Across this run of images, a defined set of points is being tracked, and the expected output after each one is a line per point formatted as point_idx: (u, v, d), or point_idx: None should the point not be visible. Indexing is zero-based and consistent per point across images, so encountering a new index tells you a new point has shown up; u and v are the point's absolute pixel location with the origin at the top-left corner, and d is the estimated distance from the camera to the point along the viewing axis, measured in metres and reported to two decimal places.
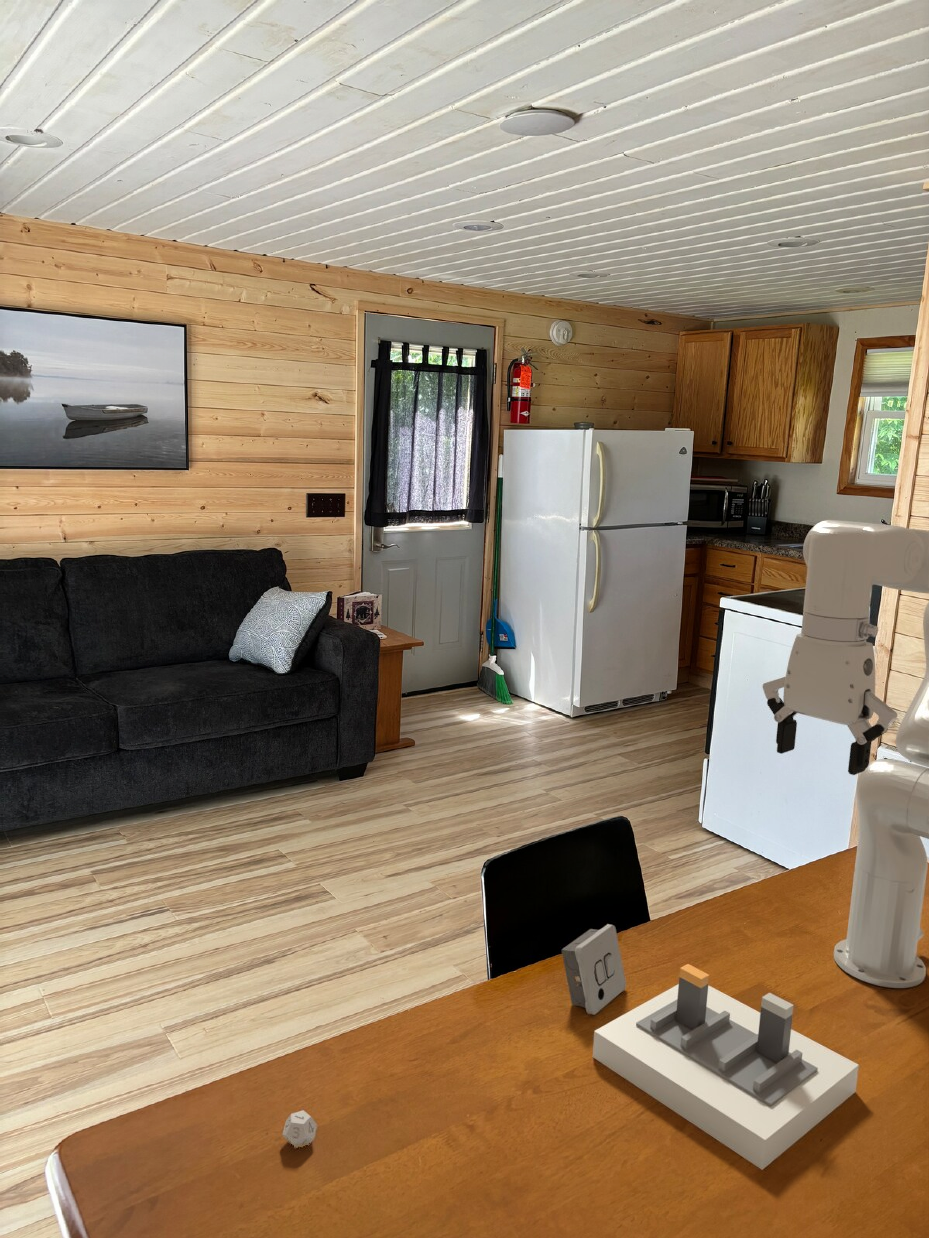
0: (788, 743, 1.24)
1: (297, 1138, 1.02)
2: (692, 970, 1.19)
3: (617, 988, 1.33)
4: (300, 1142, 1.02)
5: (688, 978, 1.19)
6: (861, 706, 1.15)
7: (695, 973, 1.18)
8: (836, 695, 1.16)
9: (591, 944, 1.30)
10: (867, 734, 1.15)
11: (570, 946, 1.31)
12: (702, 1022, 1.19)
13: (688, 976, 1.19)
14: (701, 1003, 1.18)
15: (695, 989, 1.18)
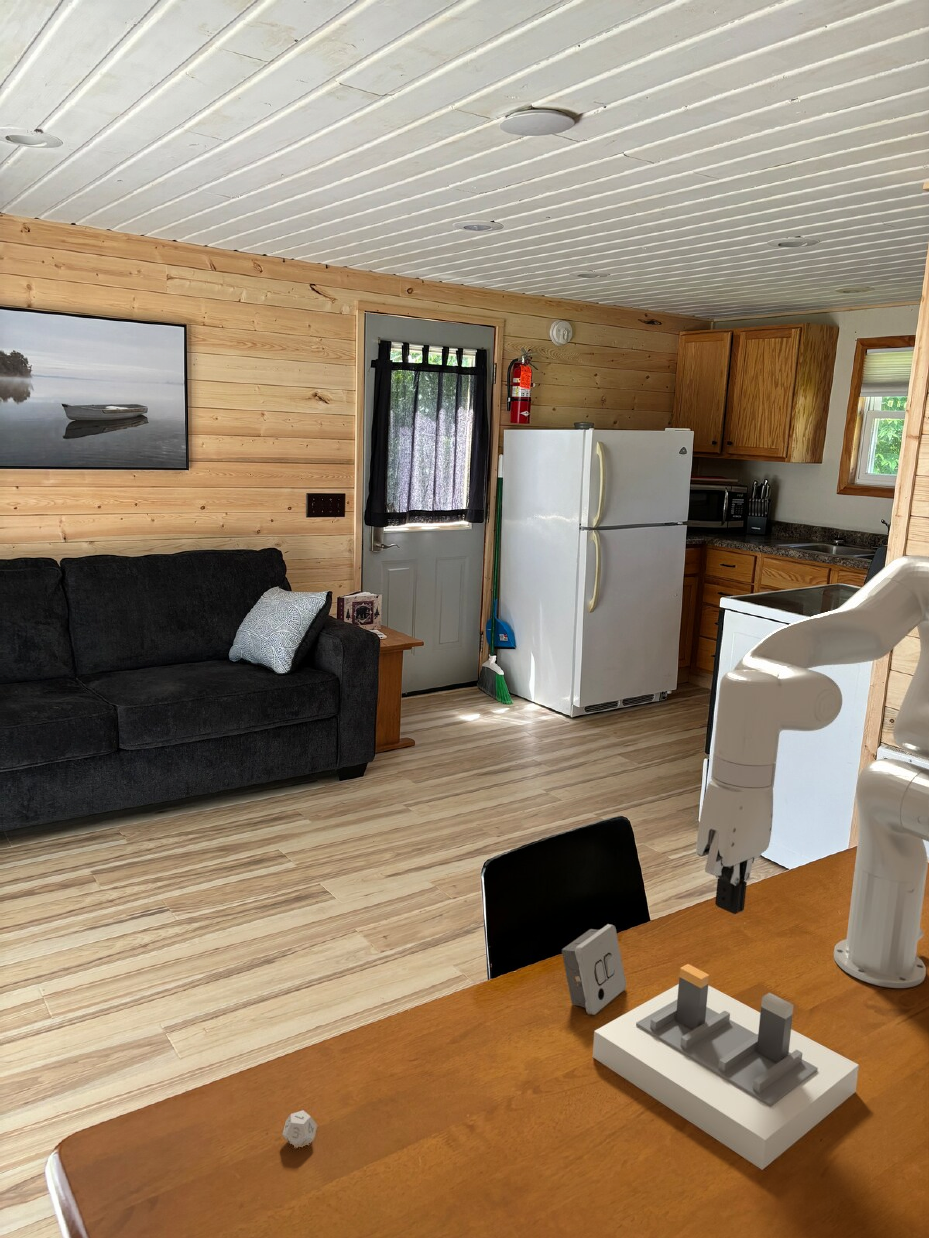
0: None
1: (297, 1138, 1.02)
2: (692, 970, 1.19)
3: (617, 988, 1.33)
4: (299, 1142, 1.02)
5: (688, 978, 1.19)
6: None
7: (695, 973, 1.18)
8: (764, 830, 1.20)
9: (591, 944, 1.30)
10: None
11: (570, 946, 1.31)
12: (702, 1022, 1.19)
13: (688, 976, 1.19)
14: (701, 1003, 1.18)
15: (695, 989, 1.18)
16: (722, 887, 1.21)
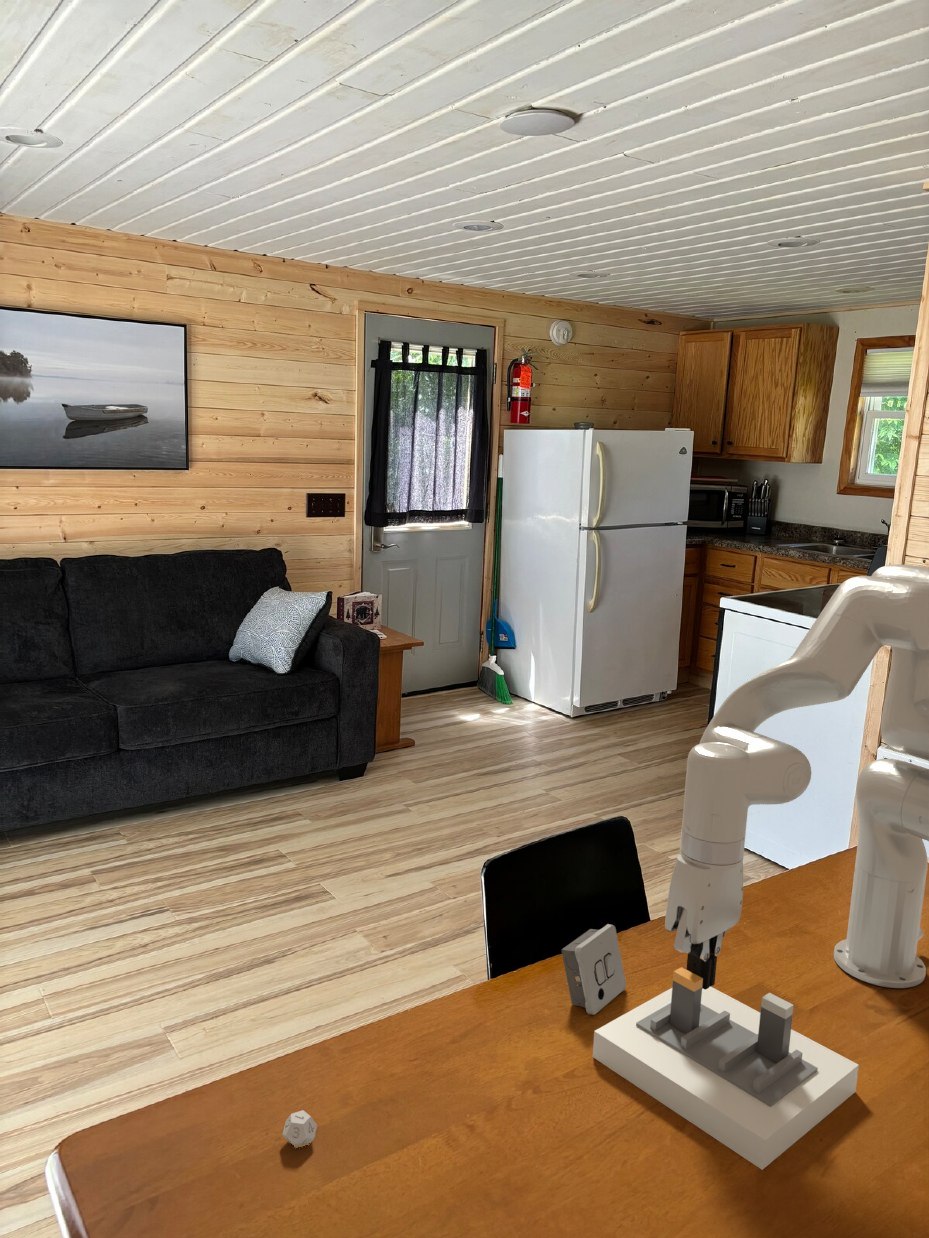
0: None
1: (297, 1138, 1.02)
2: (686, 974, 1.18)
3: (617, 988, 1.33)
4: (299, 1142, 1.02)
5: (682, 982, 1.18)
6: None
7: (689, 977, 1.18)
8: (734, 904, 1.18)
9: (591, 944, 1.30)
10: None
11: (570, 946, 1.31)
12: (696, 1026, 1.18)
13: (681, 980, 1.18)
14: (695, 1007, 1.17)
15: (689, 992, 1.17)
16: (692, 962, 1.19)
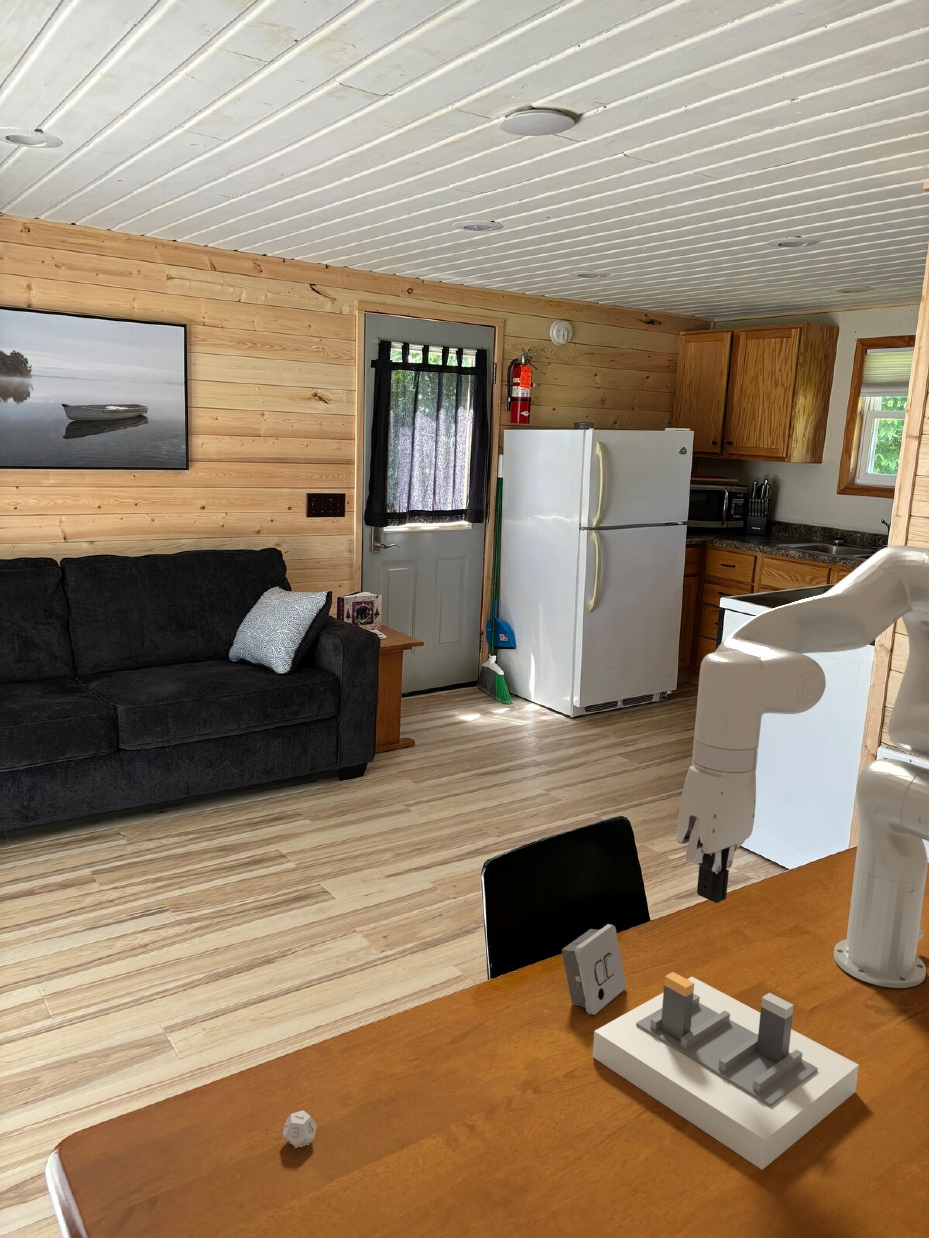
0: None
1: (297, 1138, 1.02)
2: (677, 979, 1.17)
3: (617, 988, 1.33)
4: (299, 1142, 1.02)
5: (673, 986, 1.17)
6: None
7: (680, 981, 1.16)
8: (746, 816, 1.17)
9: (591, 944, 1.30)
10: None
11: (570, 946, 1.31)
12: (687, 1031, 1.17)
13: (673, 985, 1.17)
14: (686, 1012, 1.16)
15: (680, 997, 1.16)
16: (704, 875, 1.17)
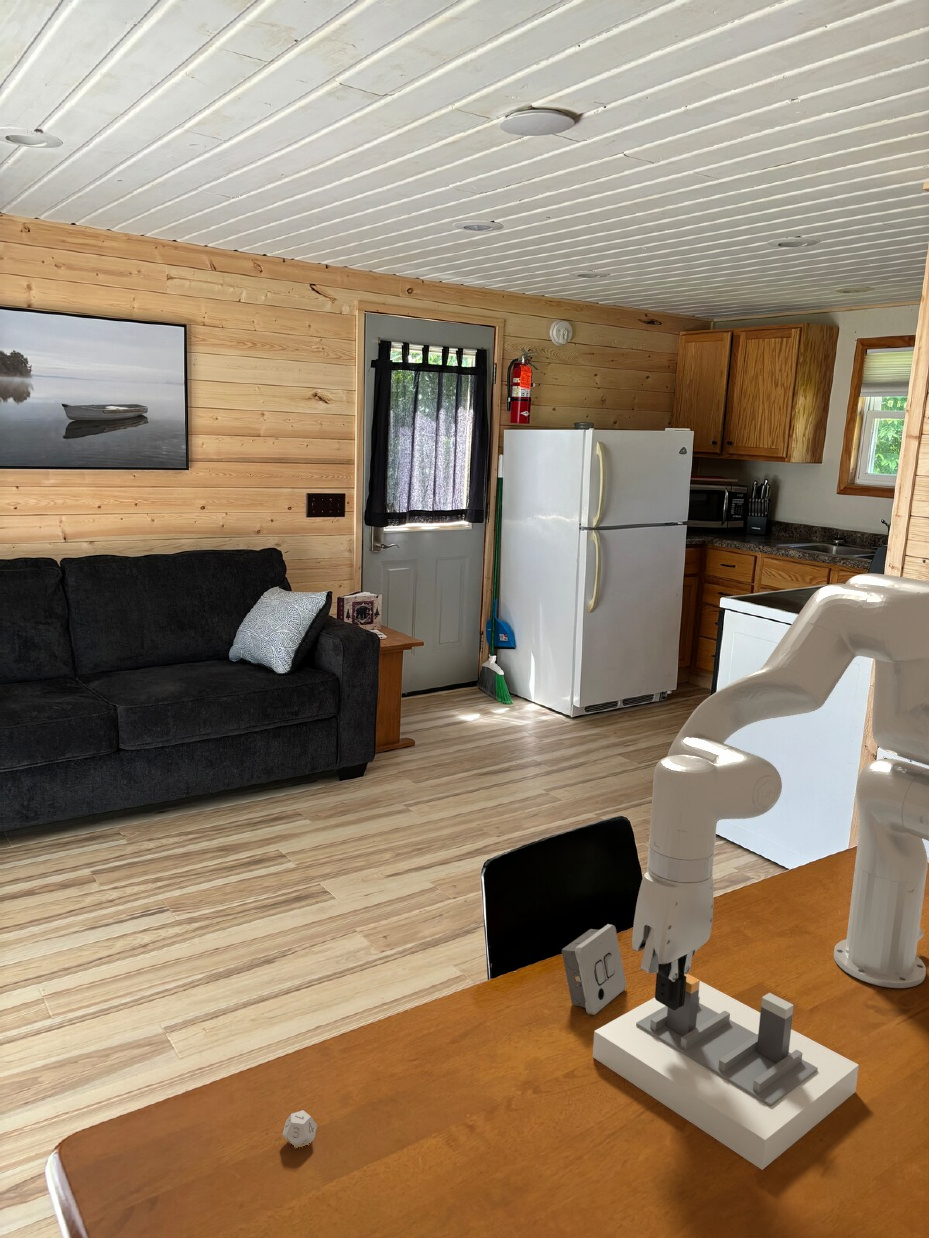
0: None
1: (297, 1138, 1.02)
2: None
3: (617, 988, 1.33)
4: (300, 1142, 1.02)
5: None
6: None
7: None
8: (704, 922, 1.14)
9: (591, 944, 1.30)
10: None
11: (570, 946, 1.31)
12: (693, 1028, 1.18)
13: None
14: (691, 1009, 1.17)
15: (685, 994, 1.17)
16: (661, 982, 1.15)
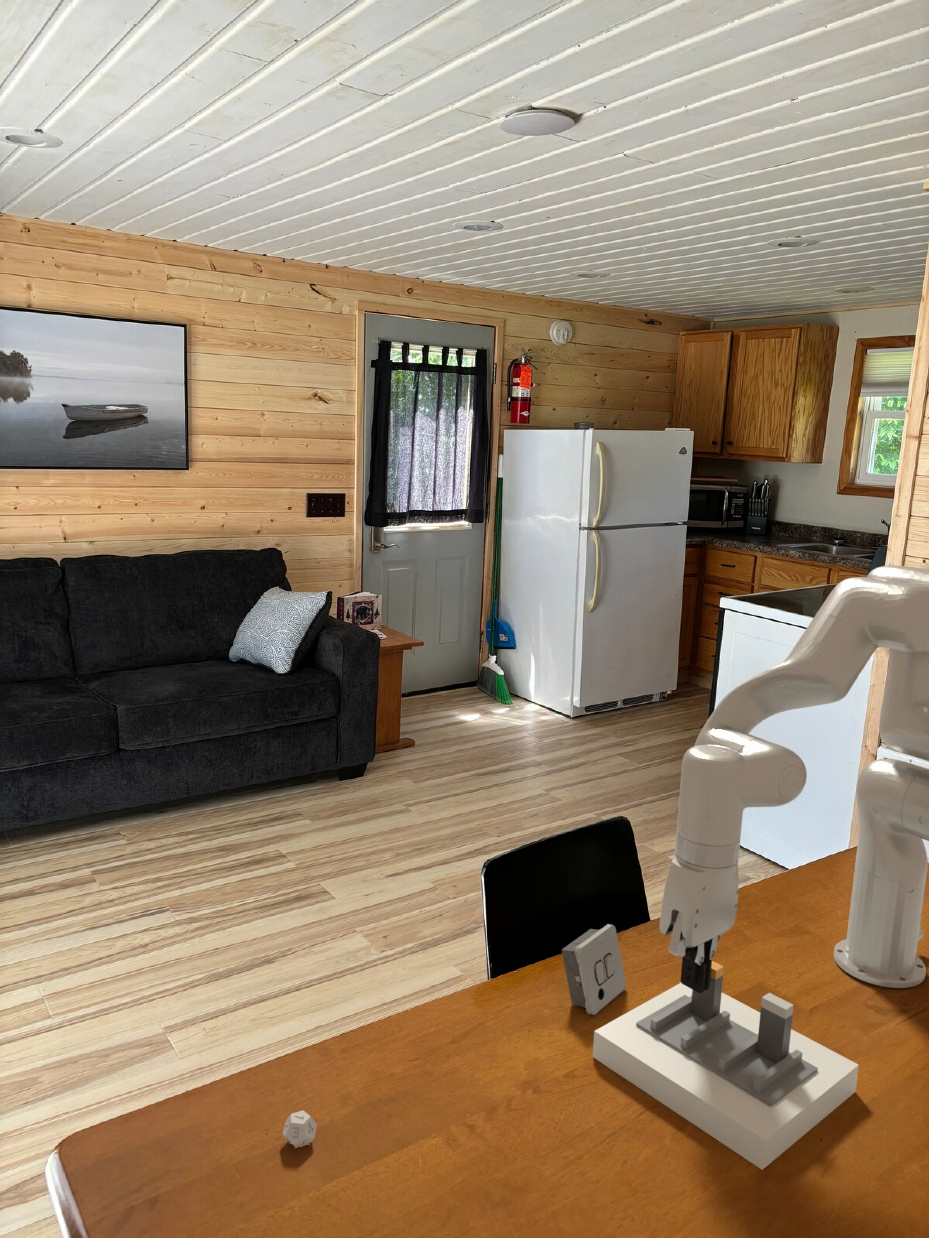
0: None
1: (296, 1138, 1.02)
2: None
3: (617, 988, 1.33)
4: (299, 1142, 1.02)
5: None
6: None
7: None
8: (729, 908, 1.17)
9: (591, 944, 1.30)
10: None
11: (570, 946, 1.31)
12: (717, 1013, 1.21)
13: None
14: (716, 994, 1.20)
15: (710, 980, 1.20)
16: (687, 966, 1.18)
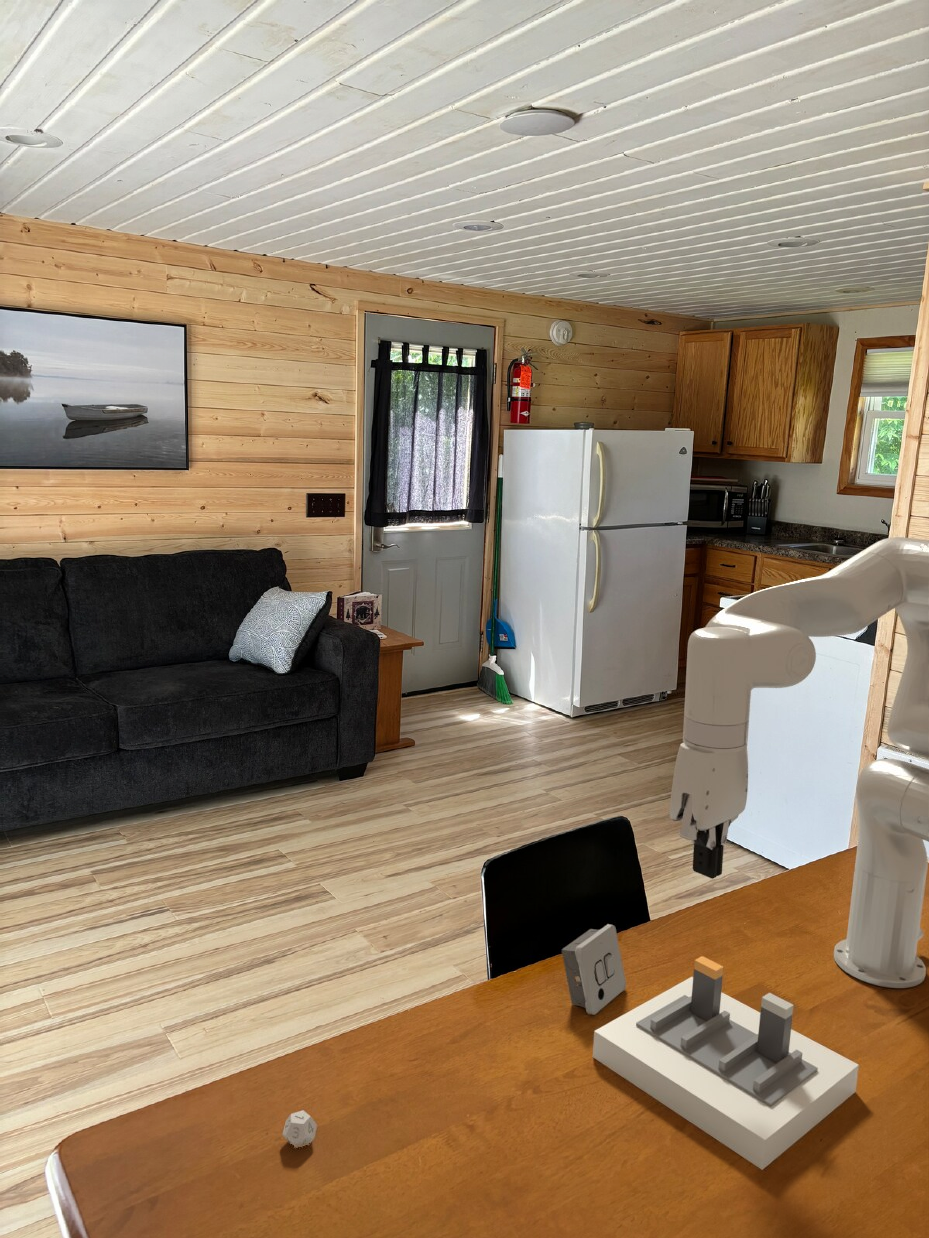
0: None
1: (296, 1138, 1.02)
2: (706, 962, 1.21)
3: (617, 988, 1.33)
4: (299, 1142, 1.02)
5: (703, 970, 1.21)
6: None
7: (710, 965, 1.20)
8: (739, 791, 1.16)
9: (591, 944, 1.30)
10: None
11: (570, 946, 1.31)
12: (716, 1013, 1.21)
13: (702, 968, 1.21)
14: (716, 994, 1.20)
15: (710, 980, 1.20)
16: (699, 852, 1.17)
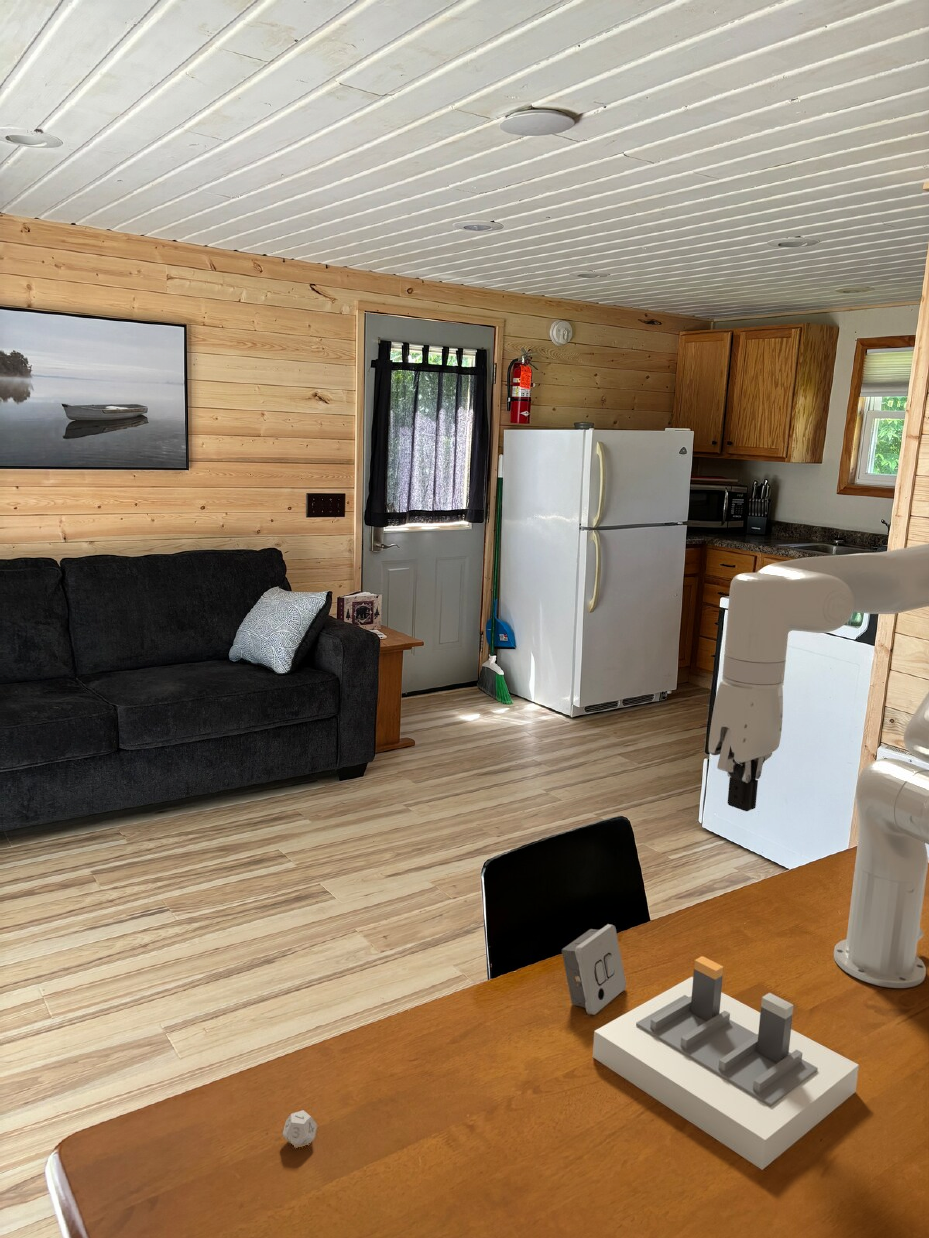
0: None
1: (297, 1138, 1.02)
2: (706, 962, 1.21)
3: (617, 988, 1.33)
4: (300, 1142, 1.02)
5: (703, 970, 1.21)
6: None
7: (710, 965, 1.20)
8: (774, 729, 1.23)
9: (591, 944, 1.30)
10: None
11: (570, 946, 1.31)
12: (716, 1013, 1.21)
13: (702, 968, 1.21)
14: (716, 994, 1.20)
15: (710, 980, 1.20)
16: (734, 785, 1.24)
